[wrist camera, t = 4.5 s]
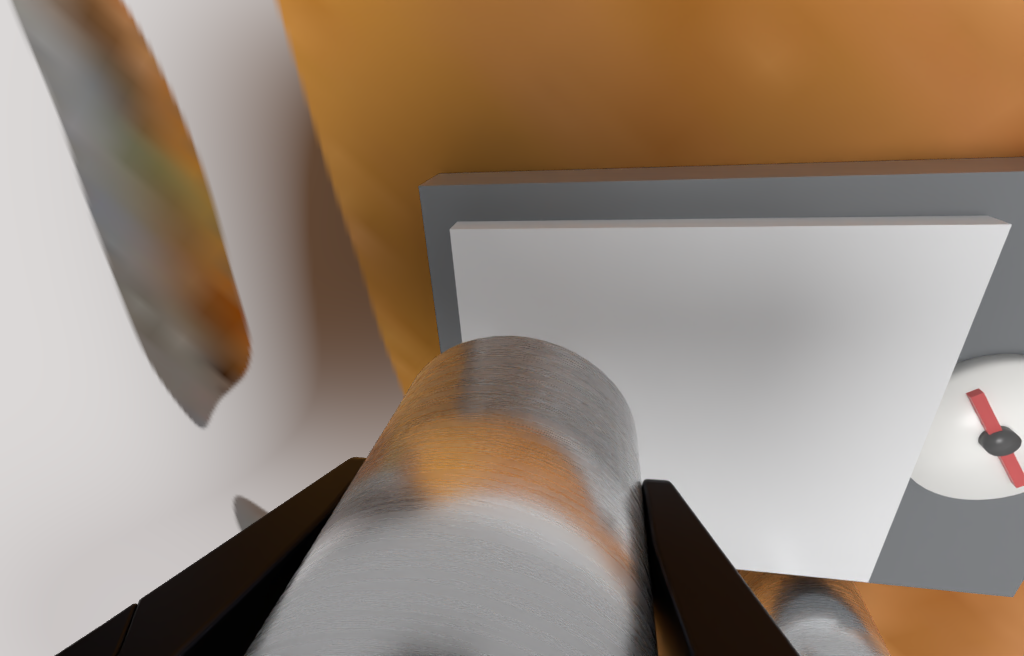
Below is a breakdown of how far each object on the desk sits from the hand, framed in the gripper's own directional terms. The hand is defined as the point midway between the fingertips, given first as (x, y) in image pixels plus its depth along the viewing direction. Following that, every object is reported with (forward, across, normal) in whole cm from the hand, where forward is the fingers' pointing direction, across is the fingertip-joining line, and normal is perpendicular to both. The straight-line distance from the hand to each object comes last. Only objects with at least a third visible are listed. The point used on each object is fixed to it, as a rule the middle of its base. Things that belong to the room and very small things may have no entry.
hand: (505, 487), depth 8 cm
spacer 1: (+1, 0, 0) cm, 1 cm away
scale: (+9, -6, +3) cm, 12 cm away
